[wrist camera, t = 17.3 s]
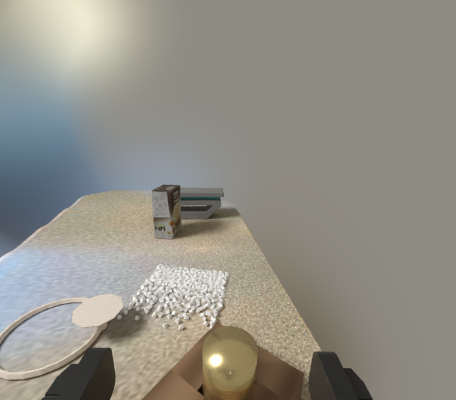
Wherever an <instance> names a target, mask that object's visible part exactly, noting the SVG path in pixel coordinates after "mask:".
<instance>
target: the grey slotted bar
mask: <svg viewBox="0 0 456 400" xmlns="http://www.w3.org/2000/svg"><path fill="white" fill-rule="evenodd" d="M220 197H224V192H223V188H180V201H181V205H207V206H181V220H188V219H207V218H208V217H209V216H211V215H212V214H213V213H214V212H215V211H216V210H217V209H218V208H220V207H221V200H220Z"/></svg>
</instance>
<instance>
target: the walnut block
mask: <svg viewBox="0 0 456 400" xmlns="http://www.w3.org/2000/svg"><path fill="white" fill-rule="evenodd" d="M220 327H224V326H223V325H221V324H219V323H218V322H217V323H216V324H215V325H214V326H213V327H212V328H211V329H210V330H209V331H208V332H207V333H206V334H205V335H204V336H203V337H202V338H201V339H200V340H199V341H198V342H197V343H196V344H195V345H194V346H193V347H192V348H191V350H190V351H189V352H188V353H187V354H186V355H185V356H184V357H183V358H182V359H181V360H180V361H179V362H178V363H177V364H176V365H175V366H174V367H173V368H172V369H171V370H170V371H169V372H168V373H167V374H166V375H165V376H164V377H163V378H162V379H161V380H160V381H159V382H158V383H157V384H156V385H155V386H154V388H153V389H152V390H151V391H150V392H149V393H148V394H147V395H146V396H145V397H144V398H143V399H142V400H205V399H204V395H203V359H202V348H203V343H204V341H205V339H206V337H207V336H208V335H209V334H210V333H211V332H212V331H214V330H215V329H217V328H220ZM257 350H258V354H257V366H256V378H255V390H254V397H253V400H300V395H301V389H302V383H303V377H304V373H302V372H301V371H299V370H297V369H296V368H294V367H292V366H290V365H289V364H287V363H285V362H284V361H282V360H280V359H279V358H277V357H275V356H274V355H272V354H270V353H268V352H267V351H265V350H263V349H262V348H260V347H258V346H257Z"/></svg>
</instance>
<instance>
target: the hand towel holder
mask: <svg viewBox="0 0 456 400" xmlns="http://www.w3.org/2000/svg"><path fill="white" fill-rule="evenodd" d="M67 303H82V304H81V305H80V306H79V307H77V308H76V309H75V310H74V311H73V317H72V322H73V323H75V324H76V325H78V326H80V327H82V328H89V327H95V330H96V331H95V333H94V334H93V335H92V336H91V338H90V339H89V340H88V341H87V342H86V343H85V344H83V345H82V346H81V347H80V348H78V349H77V350H76V351H75V352H73V353H71V354H70V355H68V356H66V357H65V358H63V359H61V360H59V361H57V362H55V363H53V364H50V365H48V366H45V367H43V368H39V369H35V370H31V371H27V372H10V371H6V370H3V369H2V368H1V367H0V378H4V379H7V380H22V379H28V378H32V377H37V376H41V375H44V374H46V373H48V372H51V371H53V370H56V369H58V368H60V367H62V366H64V365H65V364H67V363H69V362H70V361H72V360H74V359H75V358H77V357H78V356H79V355H80V354H81V353H83V352H84V351H85V350H86V349H88V348H89V347H90V345H91V344H92V343H93V342H94V341H95V340H96V339H97V338H98V336H99V334H100V332H101V331H103V330H105V329H106V327H107V322H109V321H110V320H112V319H114V318H115V316H116V315H117V314H118V313H119V311H120V310H121V309H122V307H123V304H122V298H120V297H118V296H116V295H113V294H107V295H98V296H95V297H93V298H91V299H88V298H68V299H62V300H58V301H54V302H51V303H48V304H45V305H43V306H41V307H38V308H36V309H34V310H32V311H30V312H28V313H27V314H25V315H23V316H21V317H20V318H19V319H17V320H16V321H14V322H13V323H12V324H10V325H9V326H8V327H7V328H6V329H5V330H4V331H3V332H2V333H1V334H0V343H1V342H2V340H3V339H4V338H5V337H6V336H7V335H8V334H9V333H10V332H11V331H12V330H13V329H14V328H15V327H17V326H18V325H19V324H21V323H22V322H23V321H25V320H26V319H28V318H30V317H32V316H33V315H35V314H37V313H39V312H41V311H44V310H46V309H48V308H51V307H55V306H58V305H61V304H67Z"/></svg>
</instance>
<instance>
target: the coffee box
mask: <svg viewBox="0 0 456 400" xmlns="http://www.w3.org/2000/svg"><path fill="white" fill-rule="evenodd" d="M152 202H153V218H154V233H155V238H164V239H173V238H174V237H175V235H176V234H177V233H178V232H179V231H180V229H181V201H180V186H179V185H162V186H160V187H158V188H156V189H154V190H152Z"/></svg>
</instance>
